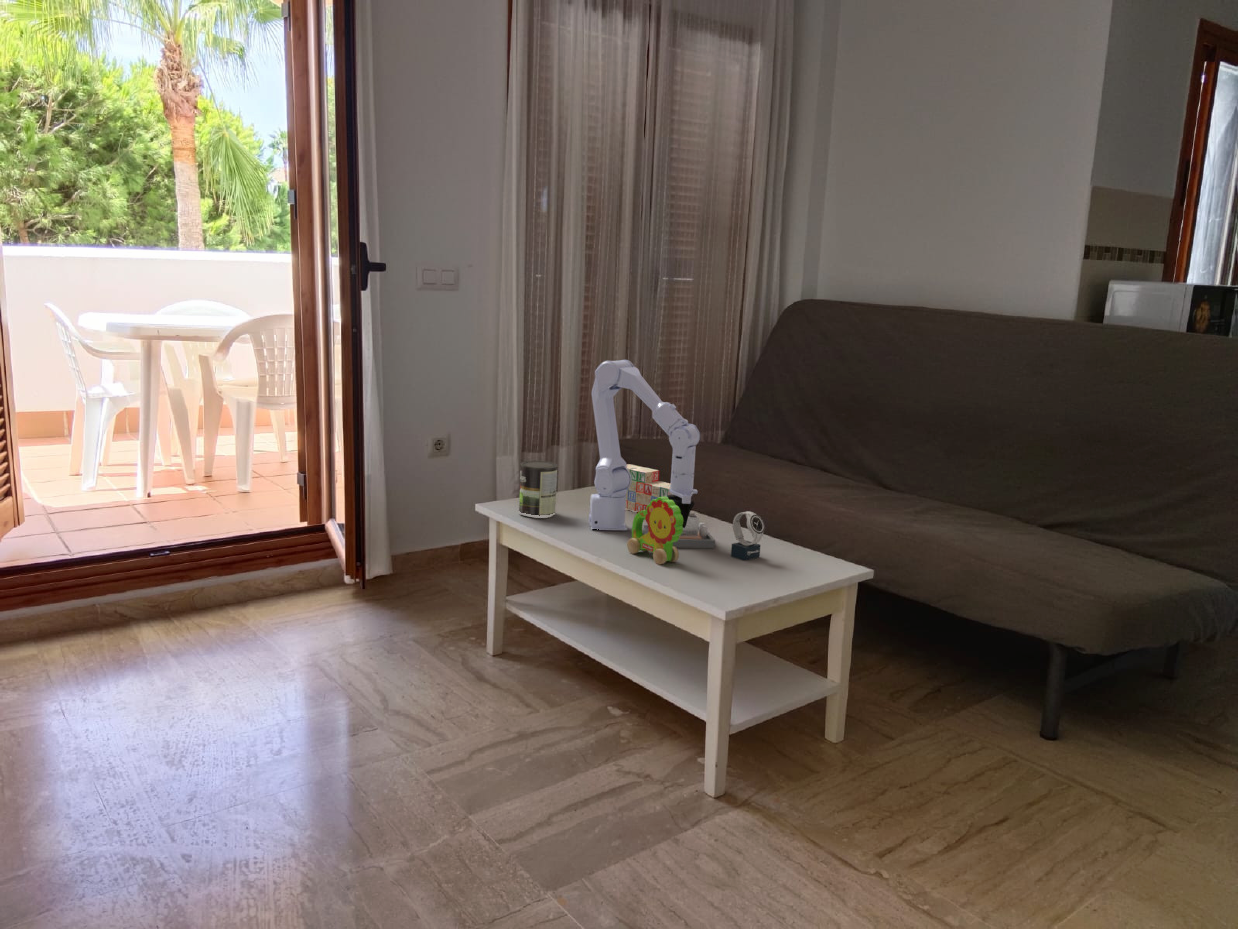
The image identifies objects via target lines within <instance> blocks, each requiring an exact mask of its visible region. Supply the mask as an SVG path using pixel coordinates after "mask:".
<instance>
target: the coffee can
mask: <svg viewBox="0 0 1238 929" xmlns="http://www.w3.org/2000/svg"><path fill="white" fill-rule="evenodd" d="M519 467H520V470H519V471H520V473H519V476H520V477H519V501H518V502H519V504H518V505H519V506H518V512H519V511H520V512H521V513H526V514H531V515H539V516H540V515H550V514H553V513H555V514H556V505H557V504H556V501H557V483H558V482H557V481H558V479H557V478H558V467H559V465H558V463H556V462H552V461H544V460H528V461H522V462H520V463H519Z"/></svg>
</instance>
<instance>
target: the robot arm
mask: <svg viewBox="0 0 1238 929" xmlns="http://www.w3.org/2000/svg"><path fill="white" fill-rule="evenodd" d="M622 388H623V389H626V390H627V389H628V390H631V391H632V392H633V393H634V394H635V395H636V396H637V397H638V398H639V399H640V400H641V401H642V402H643V403H644V404H645V405H646V406H647V407H648V408H649V409H650V410H651V412H652V416H651V417H652V419H653V420H654V421H655V423H657V425H658V426H659V428H661V429H662V430H663V431H664V433H665V434H666V435H667V436H668V441H669V443H670V444H669V445H670V446H671V448H672V454H671V455H672V456H671V472H670V484H671V485H670V489H669V492H670V493H671V494H673V495H668V498H669V500H673V501H674V502H675V504H676V505H677V506H678V507H679V508H680V511H681V515H682V516H683V525H682V527H683V528H685V527H686V524H687V520H688V516H689V514H690V513H691V511H692V509H693V508H694V506H695V504H696V503H695V501H693V500H692V496H693V495H695V494H696V495H697V494H698V490H697V489H695V488H694V478H695V462H696V448H697V447H696V446H697V445H698V444H699V442H700V439H701V432H700V431H699V428H698V427H697V425H695V424H692V423H689V421H688V419H686V418H684V417H683V416H682V415H681V414H680V413H679V412H678V410H677V406H676V405H675V404H674V403H672V404H671V402H667V401H666V402H664V401H663V400H661V398H660V397H659V396H658V394H657V392H655V390H653V388H652V387H651V385H649V383H648V382H647V381H646V380H645V378H644V377H643V375H641V372H640V369H639V368H637V367H636V366H635V365H634V363H632V362H631V361H630V360H628V359H621V360H604V361H603V362H601V363H600V364H599V365H598V367H597V368H596V369H595V370H594V381H593V385H592V389H591V400H592V407H593V408H592V409H593V415H594V422H595V430H596V437H597V445H598V452H599V453H598V454H599V461H598V463H597V465H596V466H595V476H594V482H593V483H594V488H595V489H596V492H597V493H593V494H590V501H589V514H588V524H589V527H590V526H591V527H590V529H591V530H592V529H597V530H596V531H628V527H627V526H626V524H625V521H626V517H625V516H626V510H625V504H626V491H627V489H628V488H629V486H630V485H631V480H632V479H631V475H630V473H629V471H628V469H627V465H628V464H627V462H626V461H625V460H624V458H623V457H622V455H621V448H620V441H619V440H620V439H619V433H618V432H619V431H618V426H617V425H618V424H617V417H616V411H615V410H616V409H615V402H614V398H615V395H617V394H618V392H619V391H620V390H621V389H622ZM598 529H599V530H598Z"/></svg>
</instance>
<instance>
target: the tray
mask: <svg viewBox="0 0 1238 929" xmlns="http://www.w3.org/2000/svg"><path fill="white" fill-rule="evenodd" d="M647 533H648V524H647V525H645V524H643V526H642V534H643V535H645V534H647ZM673 546H674V547H676V548H677V549H679V548H681V549H686V548H688V549H716V539H715V538H714V536H712V534H711V533H710V532H709V526H708V525H706V523H705V522H699V524H698V537H679V539H678V541H677V542H673Z"/></svg>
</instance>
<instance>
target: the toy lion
mask: <svg viewBox="0 0 1238 929" xmlns="http://www.w3.org/2000/svg"><path fill="white" fill-rule="evenodd" d="M644 521H645V522H646V524H647V525H648V533H647V534H645V535H644V533H643V526H644V524H643V523H644ZM631 525H632V526H631V527H632V528H631V537H630V538H629V539H628V540H627V543H626V547H627V550H628V552H629V554H632V555H633V554H638V553H639V552H640V551H641V552H645V553H646V552H651V553H653V554H652V558H653V561H654V562H655V563H656V564H657V565H659V566H660V565H664V564H666V562H669V563H673V562H677V561H678V560H679V558H680V553H679V550H678V548H676V547H674V546H673V542H677V541H678V539H679V536H680V535H681V534H682V532H683V527H682V525H683V516H682V515H681V511H680V508H679V507H678V506H677V505H676V504H675V502H674V501H673V500H669V498H668V497H658V498H657V499H653V500H652V501H651V502H650V504H649V505H648V506H647V508H646V510H643V511H640V512H638V513H635V515H634V518H633V521H632V524H631Z"/></svg>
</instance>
